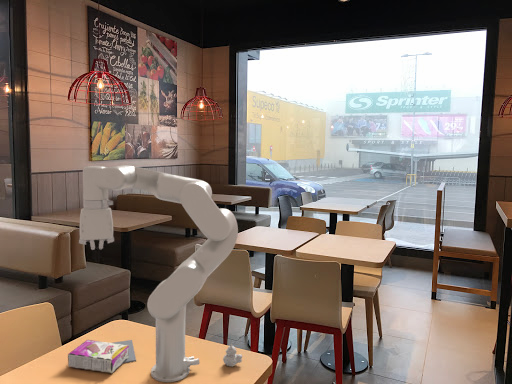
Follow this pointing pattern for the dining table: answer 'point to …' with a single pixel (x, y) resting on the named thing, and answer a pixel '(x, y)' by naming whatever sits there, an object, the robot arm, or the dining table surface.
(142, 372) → the dining table surface
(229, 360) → the white lumpy figure
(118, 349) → the candy bar box
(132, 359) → the mat
